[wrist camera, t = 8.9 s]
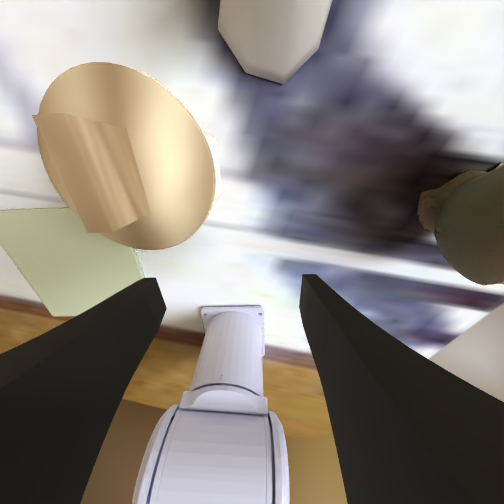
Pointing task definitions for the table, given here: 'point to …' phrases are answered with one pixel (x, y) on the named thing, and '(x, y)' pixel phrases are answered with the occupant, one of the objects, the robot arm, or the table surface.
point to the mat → (66, 259)
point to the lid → (125, 156)
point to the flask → (273, 34)
